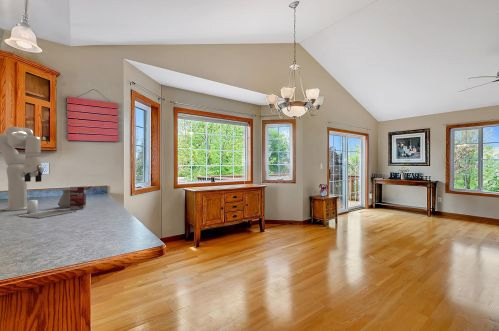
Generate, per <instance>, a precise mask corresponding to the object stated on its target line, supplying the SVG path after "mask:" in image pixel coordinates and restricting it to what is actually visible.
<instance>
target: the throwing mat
mask: <svg viewBox="0 0 499 331" xmlns="http://www.w3.org/2000/svg"><path fill="white" fill-rule="evenodd" d="M72 212H73V213H77V211H76V210H67V209H66V210H64V209H50V210H46V211H45V210H44V211H39V212H38V211H37V213H31V214H28V213H27V214H19V215H17V216H18V218H19V217H20V218H30V219H45V217H46V218H51V217H56V216H60V215H61V216H62V215H67V214H73V213H72Z"/></svg>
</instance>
